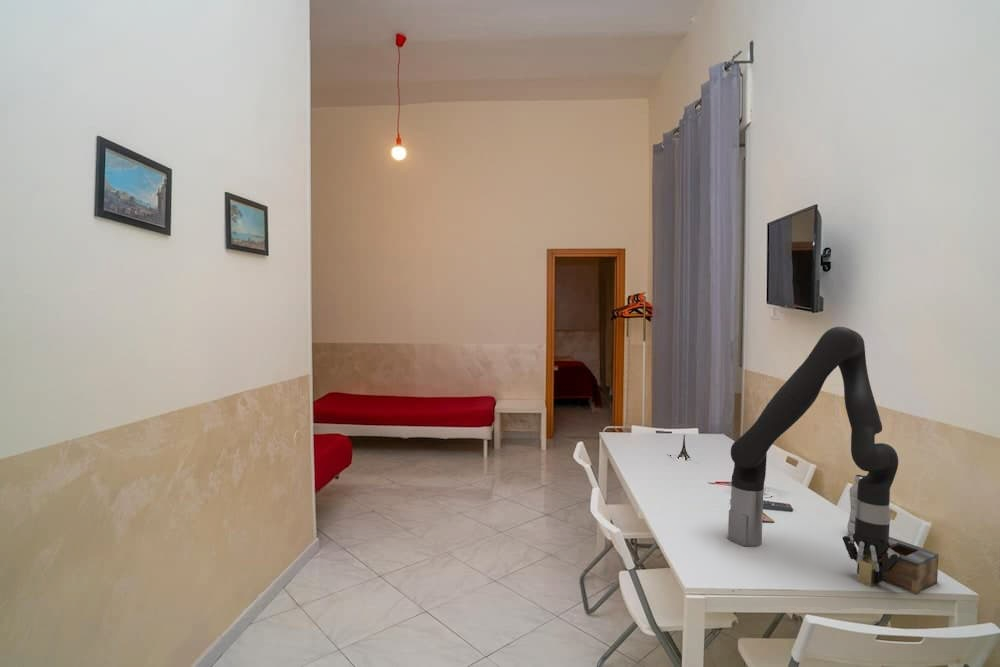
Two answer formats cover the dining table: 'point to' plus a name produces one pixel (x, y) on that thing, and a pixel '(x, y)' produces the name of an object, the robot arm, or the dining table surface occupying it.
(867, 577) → the block
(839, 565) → the dining table surface
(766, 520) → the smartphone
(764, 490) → the teacup and saucer
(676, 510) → the dining table surface
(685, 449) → the eiffel tower figurine
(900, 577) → the box
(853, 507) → the plastic bottle
